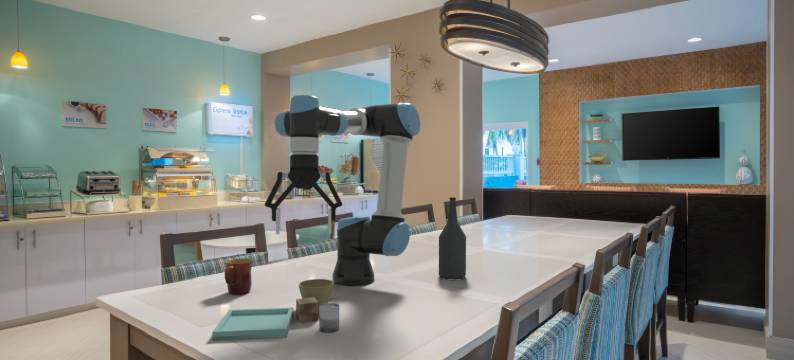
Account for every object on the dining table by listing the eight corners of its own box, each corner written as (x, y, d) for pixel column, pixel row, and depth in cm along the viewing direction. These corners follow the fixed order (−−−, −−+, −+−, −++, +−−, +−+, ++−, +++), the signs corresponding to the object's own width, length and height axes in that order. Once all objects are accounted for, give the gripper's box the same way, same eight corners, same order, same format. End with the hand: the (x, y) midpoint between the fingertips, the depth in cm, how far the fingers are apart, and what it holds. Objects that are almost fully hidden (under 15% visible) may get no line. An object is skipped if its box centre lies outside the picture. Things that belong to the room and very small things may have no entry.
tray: (293, 314, 125) (293, 307, 125) (286, 337, 108) (286, 328, 108) (229, 317, 123) (229, 309, 123) (212, 340, 106) (212, 331, 106)
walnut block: (314, 315, 125) (314, 297, 125) (318, 320, 120) (318, 302, 120) (296, 317, 123) (296, 299, 123) (299, 323, 118) (299, 304, 118)
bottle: (470, 276, 172) (470, 197, 171) (459, 281, 163) (459, 198, 163) (445, 272, 177) (446, 196, 176) (433, 277, 169) (434, 197, 168)
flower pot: (301, 302, 136) (301, 279, 136) (334, 302, 137) (334, 278, 137) (296, 313, 126) (296, 287, 126) (332, 312, 127) (332, 287, 127)
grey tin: (339, 325, 116) (339, 302, 116) (339, 332, 111) (339, 308, 111) (319, 326, 116) (319, 303, 116) (318, 333, 111) (318, 309, 111)
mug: (234, 288, 153) (234, 257, 153) (258, 289, 151) (258, 259, 151) (213, 297, 141) (213, 265, 141) (239, 299, 139) (238, 266, 139)
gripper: (350, 155, 126) (350, 230, 127) (258, 154, 123) (258, 231, 124) (351, 154, 119) (351, 234, 119) (253, 152, 116) (253, 235, 116)
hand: (304, 233), depth 122 cm, fingers open, 13 cm apart
